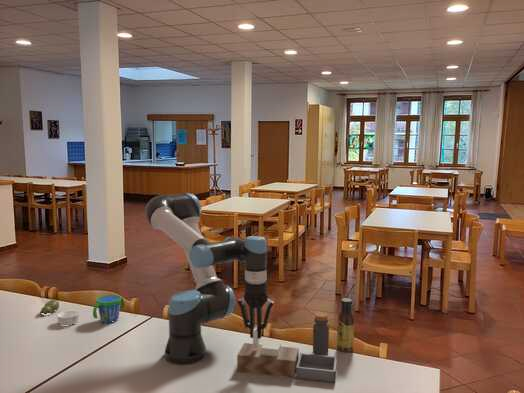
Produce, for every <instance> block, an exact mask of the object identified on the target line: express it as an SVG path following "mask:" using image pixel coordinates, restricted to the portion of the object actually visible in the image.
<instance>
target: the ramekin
mask: <svg viewBox="0 0 524 393" xmlns="http://www.w3.org/2000/svg"><path fill="white" fill-rule="evenodd" d="M56 316H57V320H58V325H59V324H61V325H71V324H75V323H77V322H78V323H79V316H80V311H78V310H73V309H71V310H64V311H62V312H59V313H57V315H56ZM78 323H77V324H78ZM75 325H76V324H75Z"/></svg>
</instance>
